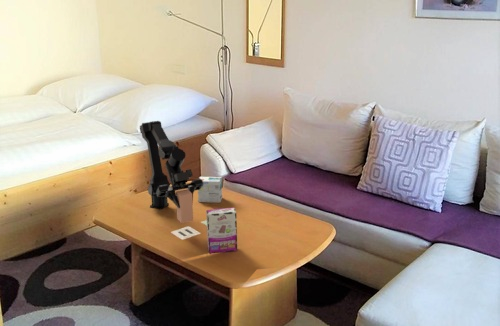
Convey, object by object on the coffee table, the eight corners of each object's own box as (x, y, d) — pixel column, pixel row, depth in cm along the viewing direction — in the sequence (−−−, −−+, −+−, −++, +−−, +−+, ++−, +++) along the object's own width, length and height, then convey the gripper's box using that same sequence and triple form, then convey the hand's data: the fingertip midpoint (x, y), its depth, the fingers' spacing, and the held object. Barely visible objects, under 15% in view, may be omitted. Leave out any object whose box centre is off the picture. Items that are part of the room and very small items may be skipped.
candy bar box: (235, 245, 216) (234, 207, 210) (237, 251, 211) (237, 212, 206) (207, 247, 214) (205, 209, 208) (208, 254, 209) (207, 214, 204)
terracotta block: (177, 218, 224) (175, 191, 220) (188, 216, 226) (187, 189, 222) (181, 223, 219) (180, 195, 215) (193, 220, 222) (192, 193, 218)
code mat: (184, 244, 216) (184, 243, 216) (164, 232, 227) (164, 230, 226) (236, 226, 232) (236, 224, 231) (214, 215, 243) (214, 213, 242)
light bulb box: (222, 197, 262) (222, 176, 259) (220, 203, 256) (220, 181, 252) (200, 196, 263) (199, 175, 260) (197, 202, 257) (197, 180, 253)
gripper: (156, 166, 214) (167, 202, 209) (201, 159, 222) (212, 194, 217) (151, 179, 223) (161, 214, 218) (194, 172, 232) (205, 205, 226)
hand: (185, 206), depth 219 cm, fingers closed on terracotta block, 5 cm apart
